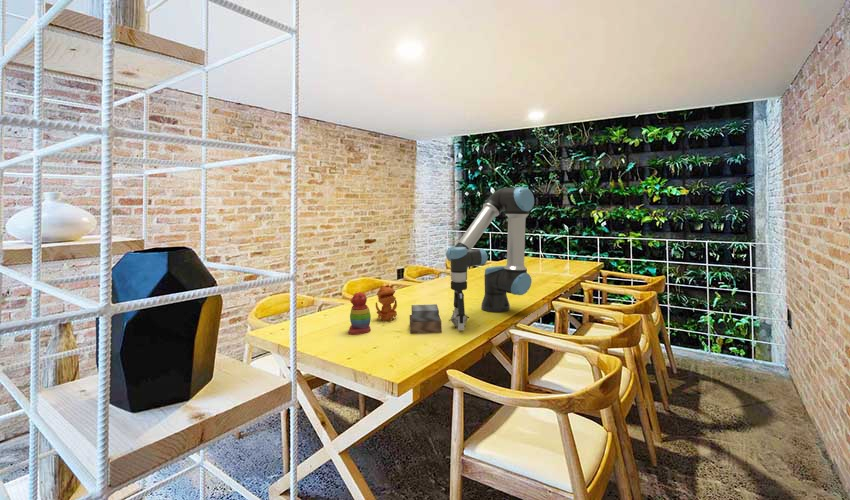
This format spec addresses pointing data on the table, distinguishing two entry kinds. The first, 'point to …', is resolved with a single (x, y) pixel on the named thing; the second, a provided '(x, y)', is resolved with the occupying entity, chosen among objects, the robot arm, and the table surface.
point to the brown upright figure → (386, 303)
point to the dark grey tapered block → (425, 319)
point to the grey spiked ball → (455, 319)
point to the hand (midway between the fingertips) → (459, 325)
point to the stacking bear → (359, 315)
